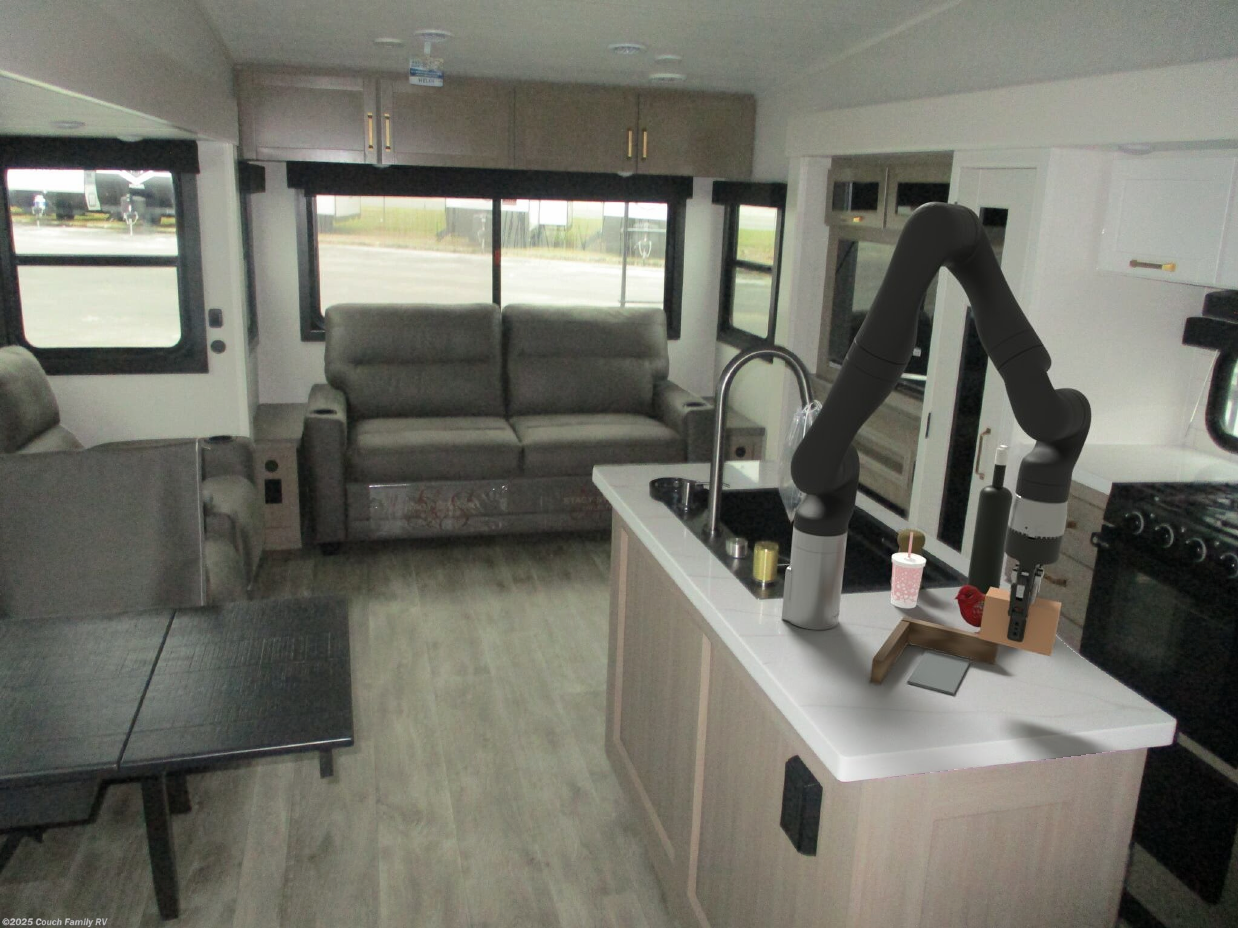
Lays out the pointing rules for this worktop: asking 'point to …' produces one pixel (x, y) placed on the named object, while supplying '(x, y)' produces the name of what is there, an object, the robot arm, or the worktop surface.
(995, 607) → the terracotta block
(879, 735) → the worktop surface
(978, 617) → the decorative bird figurine
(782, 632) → the worktop surface
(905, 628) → the walnut corner
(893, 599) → the beverage cup
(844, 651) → the worktop surface
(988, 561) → the wine bottle
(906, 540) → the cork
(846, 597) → the worktop surface
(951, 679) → the slate pad
